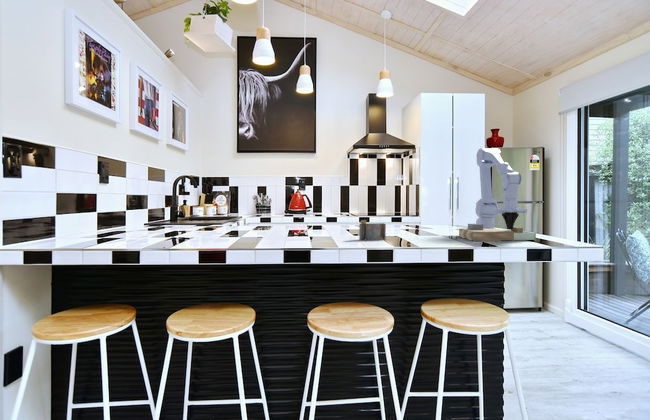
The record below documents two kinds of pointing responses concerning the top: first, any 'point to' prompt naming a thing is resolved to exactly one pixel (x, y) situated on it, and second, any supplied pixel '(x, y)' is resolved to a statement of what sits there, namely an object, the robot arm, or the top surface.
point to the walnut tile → (517, 230)
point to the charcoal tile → (475, 226)
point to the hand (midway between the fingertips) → (509, 229)
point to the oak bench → (486, 234)
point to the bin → (524, 236)
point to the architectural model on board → (372, 231)
